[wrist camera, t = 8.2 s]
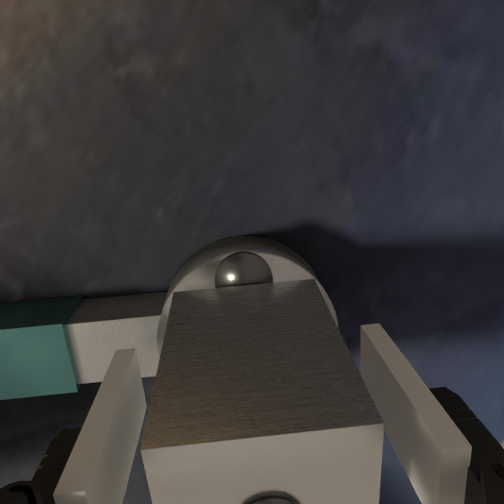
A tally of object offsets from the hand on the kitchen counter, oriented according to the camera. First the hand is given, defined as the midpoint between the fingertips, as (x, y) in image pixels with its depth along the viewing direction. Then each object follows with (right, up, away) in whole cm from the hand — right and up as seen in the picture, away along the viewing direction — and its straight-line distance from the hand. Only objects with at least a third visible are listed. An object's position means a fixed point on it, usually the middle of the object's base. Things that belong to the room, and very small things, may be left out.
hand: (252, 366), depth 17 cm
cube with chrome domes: (0, 0, +2) cm, 2 cm away
